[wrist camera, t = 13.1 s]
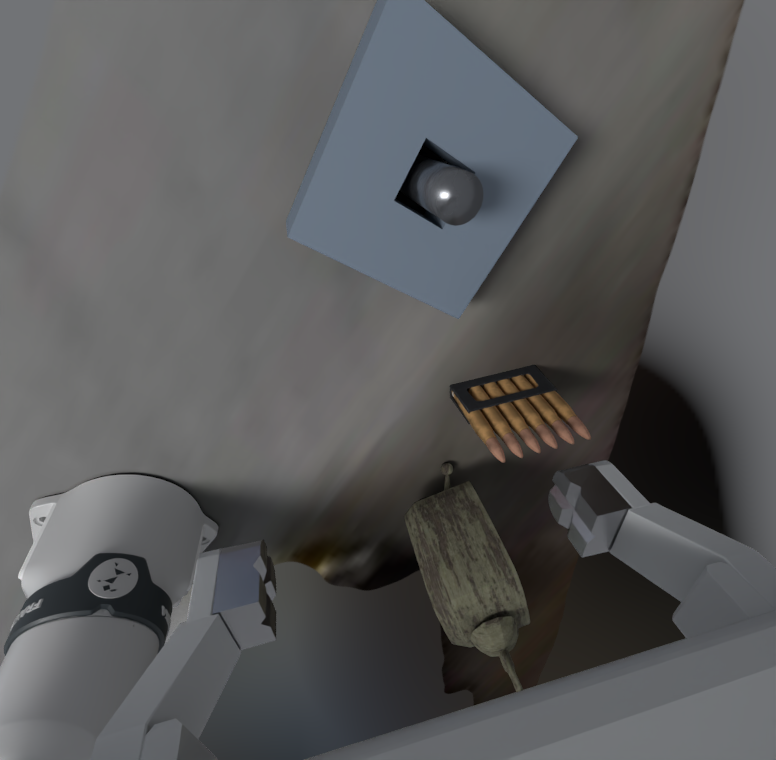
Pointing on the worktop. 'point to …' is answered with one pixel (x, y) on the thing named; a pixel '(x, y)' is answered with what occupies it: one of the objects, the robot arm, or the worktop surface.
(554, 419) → the ammunition clip
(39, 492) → the worktop surface
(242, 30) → the worktop surface
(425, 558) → the tabletop clock
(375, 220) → the bore block
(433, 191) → the steel pin
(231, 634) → the robot arm
